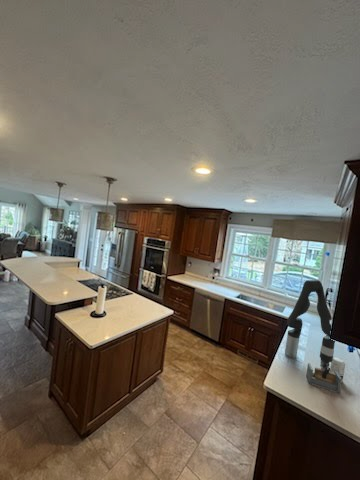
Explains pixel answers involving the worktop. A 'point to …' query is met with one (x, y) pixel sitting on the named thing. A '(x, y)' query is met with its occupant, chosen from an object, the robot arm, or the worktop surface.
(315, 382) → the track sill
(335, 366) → the supplement can
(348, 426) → the worktop surface
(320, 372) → the door panel
